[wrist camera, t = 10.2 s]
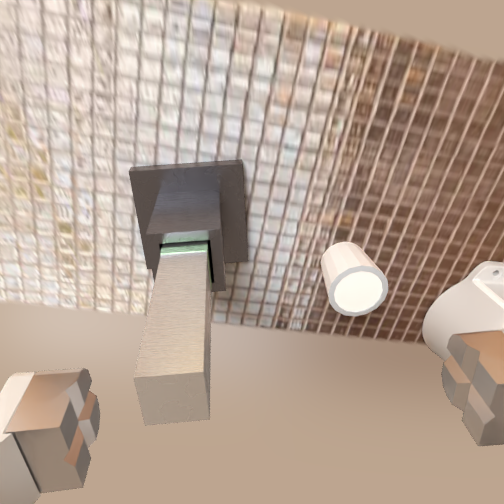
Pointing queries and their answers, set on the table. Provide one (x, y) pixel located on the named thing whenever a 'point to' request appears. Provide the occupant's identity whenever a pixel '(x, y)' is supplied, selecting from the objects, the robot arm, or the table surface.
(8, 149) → the table surface
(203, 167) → the sleeve stand
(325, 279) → the white tapered cup
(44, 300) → the table surface
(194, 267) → the steel post
